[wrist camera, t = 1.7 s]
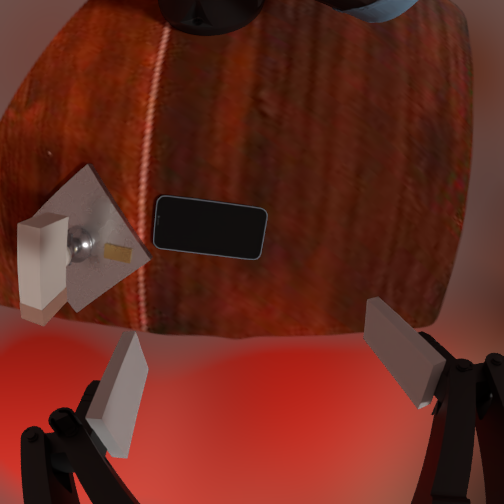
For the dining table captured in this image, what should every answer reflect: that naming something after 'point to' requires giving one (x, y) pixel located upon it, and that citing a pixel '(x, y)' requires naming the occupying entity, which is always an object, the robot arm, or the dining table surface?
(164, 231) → the smartphone
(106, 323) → the dining table surface
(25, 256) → the grey rectangular block
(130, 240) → the socket
